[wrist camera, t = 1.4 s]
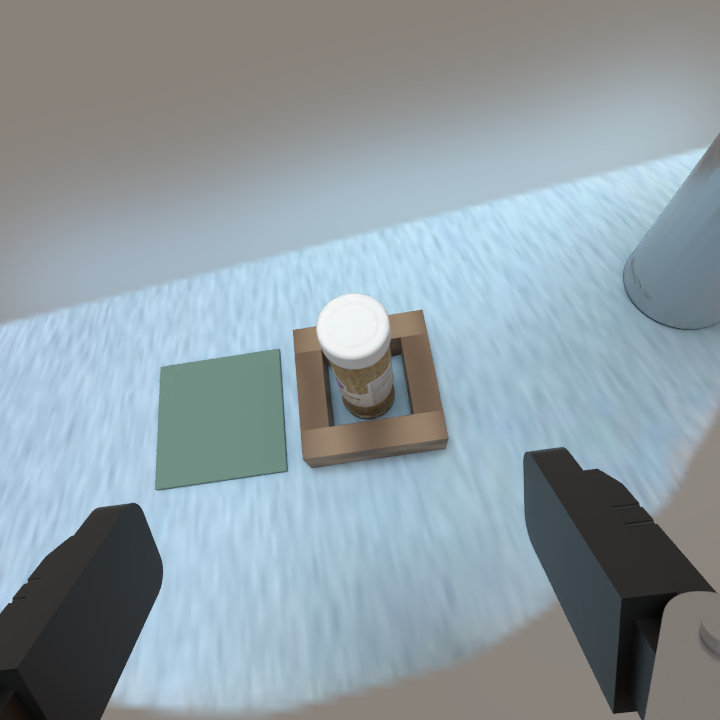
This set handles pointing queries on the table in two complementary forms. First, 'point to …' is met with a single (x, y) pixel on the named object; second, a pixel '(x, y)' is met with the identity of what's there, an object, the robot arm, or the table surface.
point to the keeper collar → (374, 436)
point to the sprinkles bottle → (359, 352)
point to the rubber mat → (220, 420)
